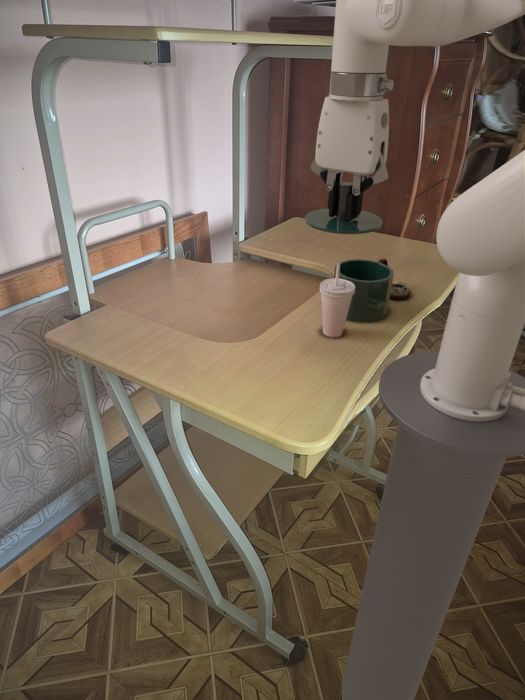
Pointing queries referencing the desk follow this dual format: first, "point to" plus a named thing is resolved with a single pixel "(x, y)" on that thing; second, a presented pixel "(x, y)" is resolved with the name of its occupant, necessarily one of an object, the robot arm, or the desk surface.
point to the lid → (343, 217)
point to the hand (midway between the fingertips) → (343, 215)
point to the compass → (397, 287)
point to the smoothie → (335, 303)
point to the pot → (367, 288)
